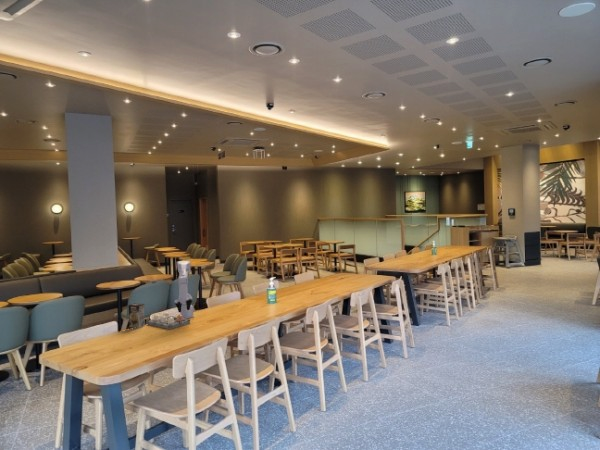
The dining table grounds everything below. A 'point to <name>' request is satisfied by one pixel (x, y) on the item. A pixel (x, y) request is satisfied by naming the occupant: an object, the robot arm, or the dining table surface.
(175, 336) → the dining table surface
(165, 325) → the egg tray
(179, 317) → the terracotta egg
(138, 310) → the coffee box
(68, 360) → the dining table surface
